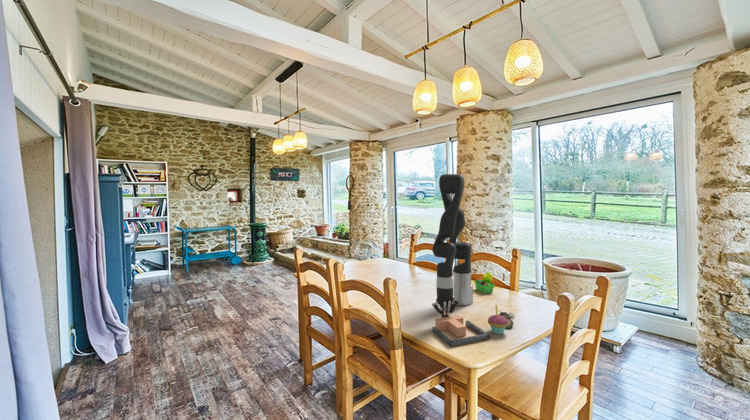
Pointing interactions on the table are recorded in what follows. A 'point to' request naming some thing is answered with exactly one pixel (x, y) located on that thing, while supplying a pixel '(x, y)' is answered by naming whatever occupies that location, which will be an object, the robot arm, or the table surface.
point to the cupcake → (498, 323)
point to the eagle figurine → (509, 317)
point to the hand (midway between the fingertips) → (445, 322)
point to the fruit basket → (485, 284)
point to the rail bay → (463, 341)
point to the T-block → (451, 325)
